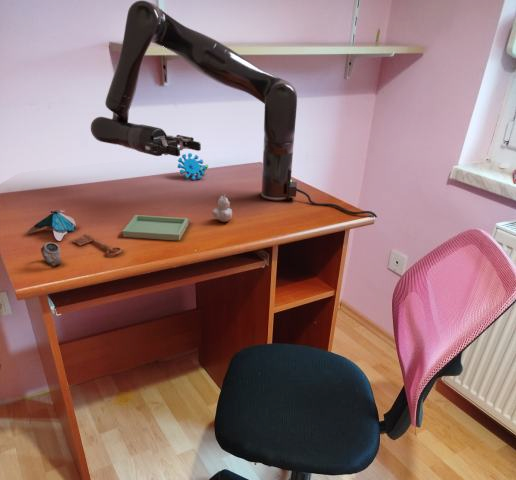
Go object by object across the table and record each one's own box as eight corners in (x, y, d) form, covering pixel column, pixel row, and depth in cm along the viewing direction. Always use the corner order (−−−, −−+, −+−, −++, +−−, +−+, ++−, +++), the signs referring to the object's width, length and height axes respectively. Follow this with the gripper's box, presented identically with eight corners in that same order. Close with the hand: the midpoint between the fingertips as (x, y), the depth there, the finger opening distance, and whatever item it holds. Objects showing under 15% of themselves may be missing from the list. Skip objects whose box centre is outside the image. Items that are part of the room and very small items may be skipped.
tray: (188, 223, 135) (188, 218, 134) (179, 240, 125) (179, 234, 124) (136, 220, 136) (135, 214, 135) (122, 236, 126) (122, 230, 125)
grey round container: (53, 269, 110) (48, 248, 107) (39, 260, 113) (34, 240, 110) (67, 264, 112) (63, 244, 109) (53, 256, 115) (48, 236, 112)
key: (72, 242, 123) (104, 260, 114) (71, 238, 122) (103, 257, 114) (92, 234, 126) (124, 252, 118) (91, 231, 125) (124, 248, 117)
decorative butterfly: (84, 212, 128) (56, 215, 119) (84, 237, 130) (57, 241, 121) (53, 206, 131) (24, 208, 122) (54, 230, 133) (25, 234, 124)
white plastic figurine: (237, 221, 138) (237, 193, 133) (218, 226, 134) (218, 198, 130) (225, 216, 141) (225, 188, 136) (207, 221, 137) (206, 193, 133)
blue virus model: (180, 177, 165) (176, 150, 166) (176, 186, 170) (172, 160, 172) (210, 179, 169) (207, 153, 171) (206, 187, 175) (202, 162, 176)
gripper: (127, 129, 132) (171, 139, 125) (163, 122, 142) (206, 130, 135) (130, 157, 137) (172, 168, 130) (165, 149, 147) (206, 158, 139)
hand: (189, 149), depth 132 cm, fingers open, 8 cm apart
